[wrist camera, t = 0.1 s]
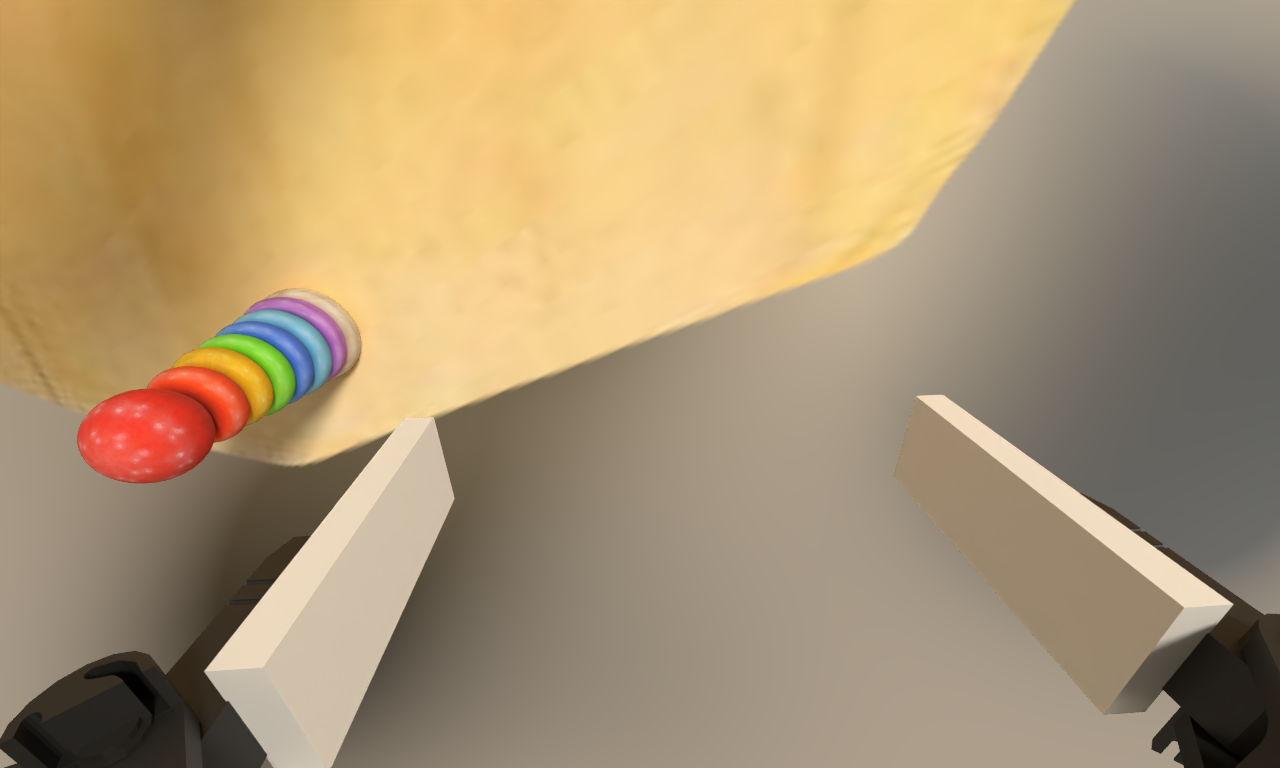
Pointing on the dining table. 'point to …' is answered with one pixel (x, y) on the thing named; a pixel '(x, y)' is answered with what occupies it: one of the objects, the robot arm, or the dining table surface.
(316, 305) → the stacking toy
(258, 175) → the dining table surface
